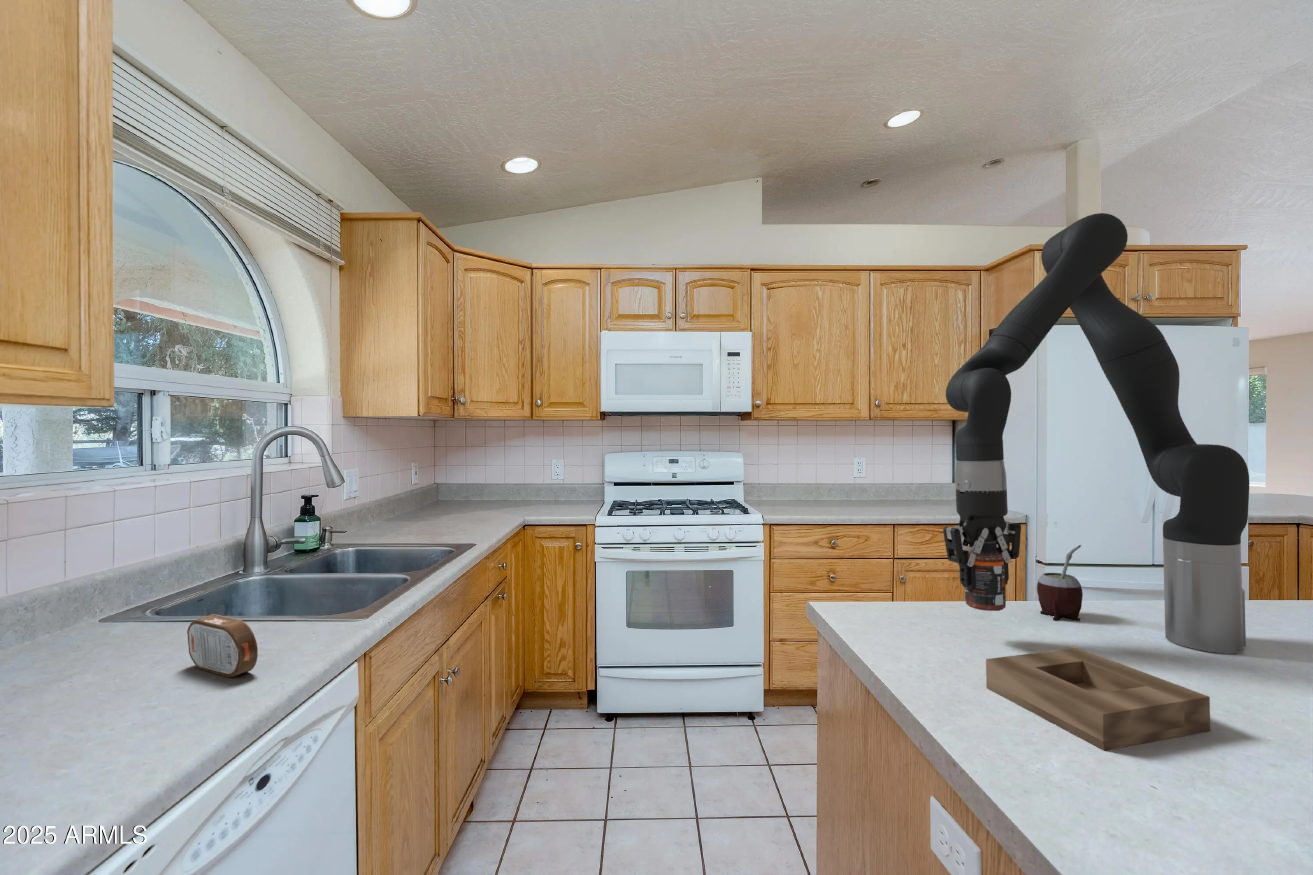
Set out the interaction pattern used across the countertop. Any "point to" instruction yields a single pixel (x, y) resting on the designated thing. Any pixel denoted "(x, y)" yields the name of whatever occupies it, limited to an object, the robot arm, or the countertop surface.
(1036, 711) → the walnut holder
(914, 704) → the countertop surface
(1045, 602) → the mate gourd
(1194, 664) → the countertop surface
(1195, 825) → the countertop surface
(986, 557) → the supplement bottle
